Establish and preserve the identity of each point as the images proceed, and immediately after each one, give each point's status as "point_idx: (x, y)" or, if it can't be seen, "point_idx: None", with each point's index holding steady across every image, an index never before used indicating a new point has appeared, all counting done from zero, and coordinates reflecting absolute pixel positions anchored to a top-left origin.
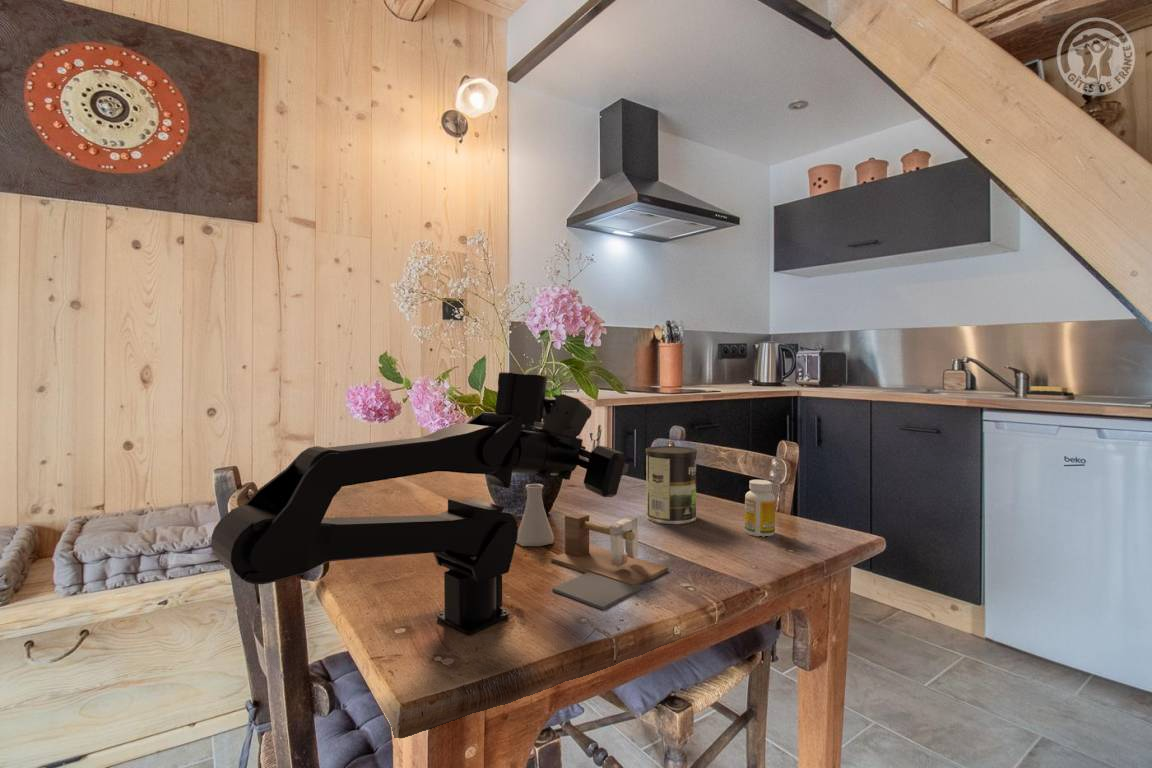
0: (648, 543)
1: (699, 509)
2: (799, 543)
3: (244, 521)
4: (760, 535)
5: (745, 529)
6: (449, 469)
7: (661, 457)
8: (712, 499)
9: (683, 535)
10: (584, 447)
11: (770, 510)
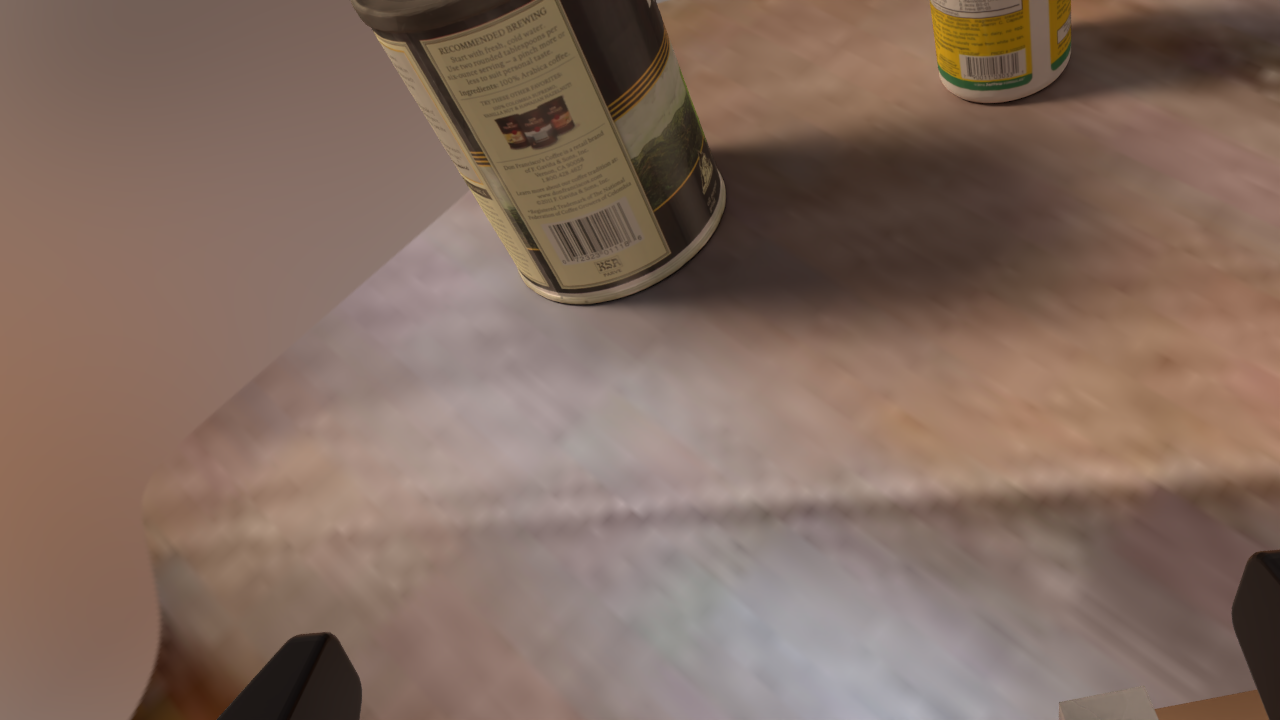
0: (812, 488)
1: None
2: (1207, 19)
3: None
4: (1051, 81)
5: (972, 92)
6: None
7: (506, 8)
8: None
9: (830, 300)
10: (325, 655)
11: None
